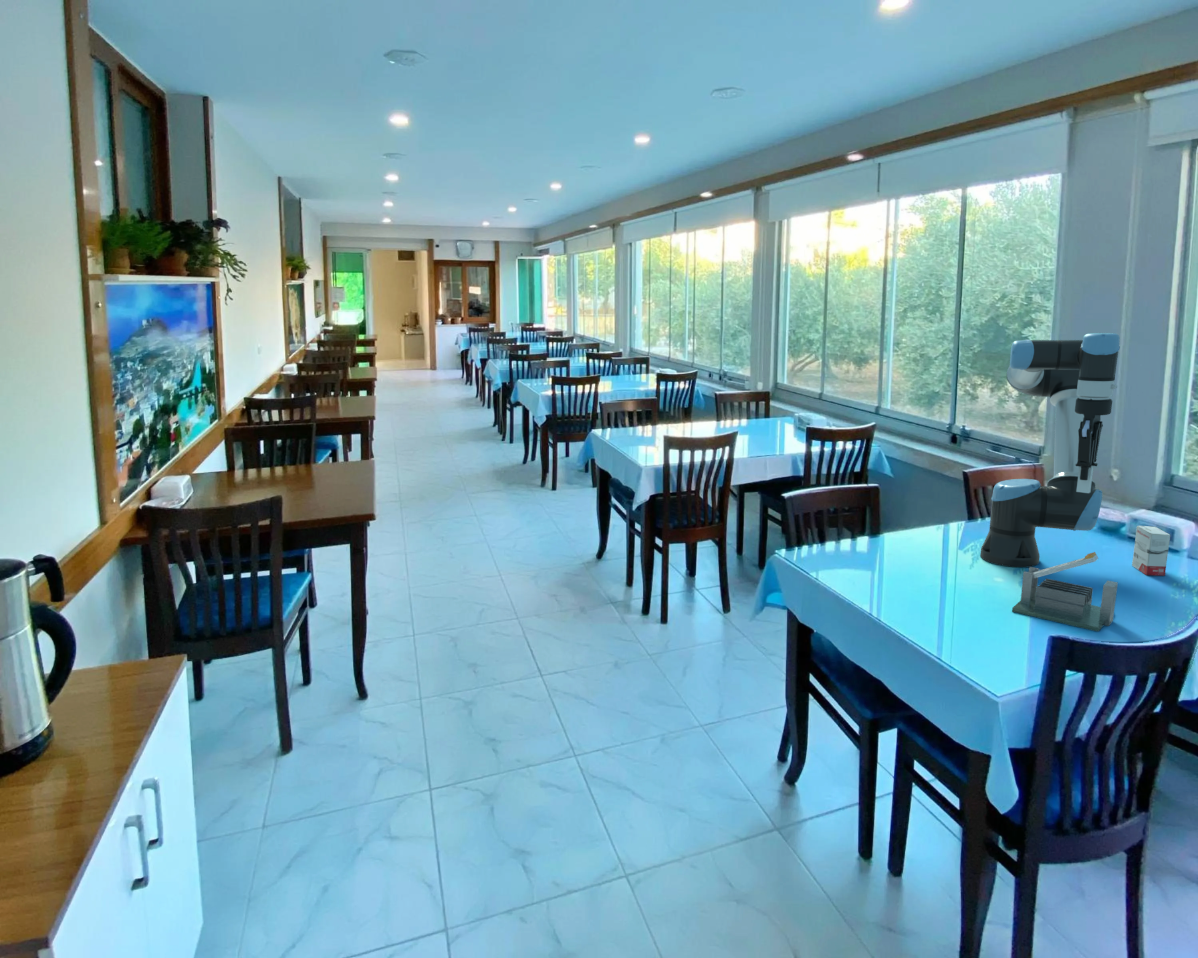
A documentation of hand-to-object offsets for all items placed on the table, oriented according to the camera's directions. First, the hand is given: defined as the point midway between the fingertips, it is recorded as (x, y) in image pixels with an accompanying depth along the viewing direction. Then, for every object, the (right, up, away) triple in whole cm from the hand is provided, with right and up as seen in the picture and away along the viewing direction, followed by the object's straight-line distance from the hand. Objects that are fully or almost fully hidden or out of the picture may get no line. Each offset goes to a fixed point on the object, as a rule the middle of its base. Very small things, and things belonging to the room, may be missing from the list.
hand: (1083, 491), depth 191 cm
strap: (-11, -19, -9) cm, 23 cm away
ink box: (+30, -22, +19) cm, 42 cm away
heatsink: (-10, -29, -7) cm, 31 cm away
